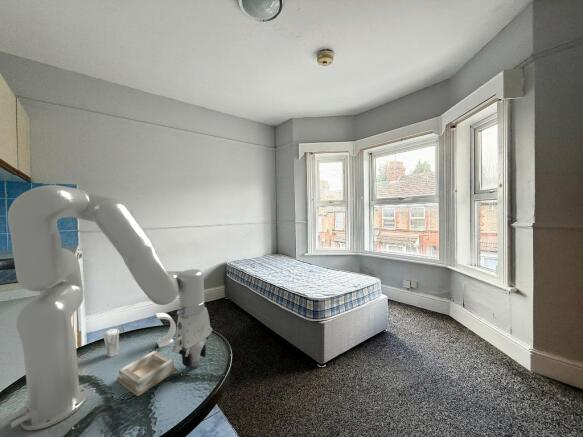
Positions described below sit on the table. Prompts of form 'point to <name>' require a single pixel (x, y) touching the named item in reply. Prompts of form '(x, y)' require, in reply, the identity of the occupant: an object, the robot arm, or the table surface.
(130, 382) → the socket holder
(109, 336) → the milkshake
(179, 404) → the table surface
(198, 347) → the lightbulb
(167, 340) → the white curved piece
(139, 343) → the table surface
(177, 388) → the table surface
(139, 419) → the table surface
